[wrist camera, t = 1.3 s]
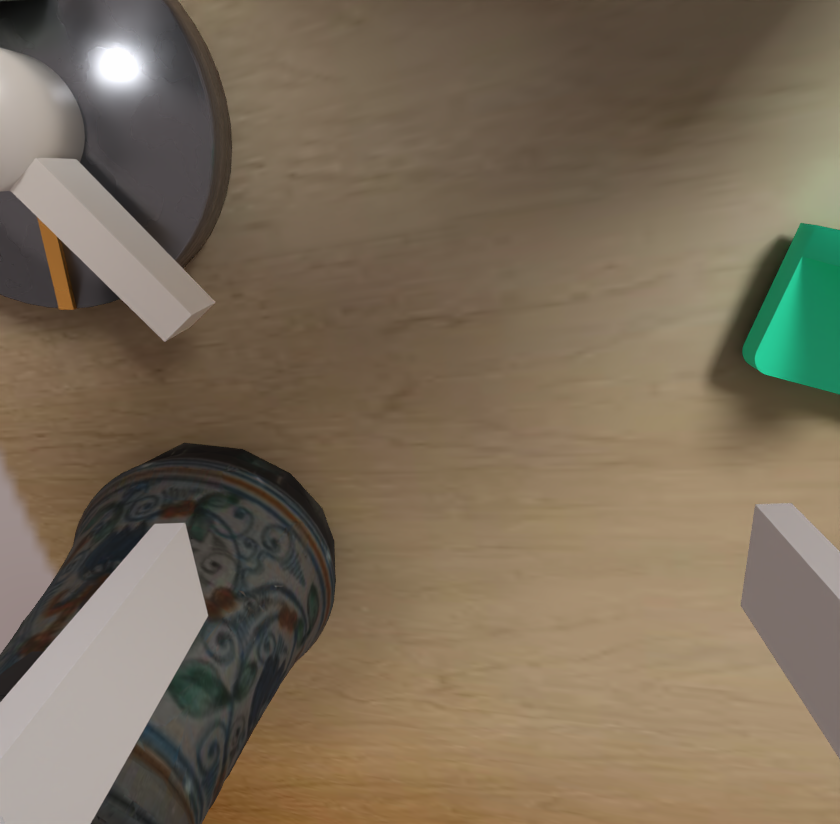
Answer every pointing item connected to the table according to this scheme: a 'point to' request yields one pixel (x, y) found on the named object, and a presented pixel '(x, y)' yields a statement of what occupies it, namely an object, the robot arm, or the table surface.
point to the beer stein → (226, 606)
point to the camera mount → (802, 314)
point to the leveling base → (121, 134)
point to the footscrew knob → (84, 198)
